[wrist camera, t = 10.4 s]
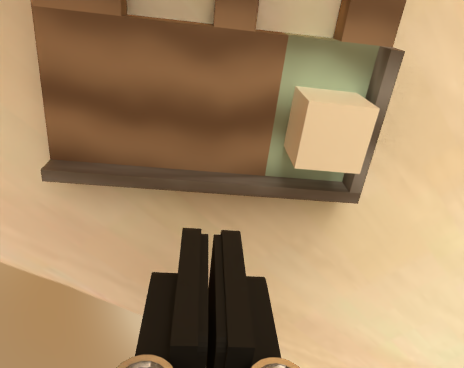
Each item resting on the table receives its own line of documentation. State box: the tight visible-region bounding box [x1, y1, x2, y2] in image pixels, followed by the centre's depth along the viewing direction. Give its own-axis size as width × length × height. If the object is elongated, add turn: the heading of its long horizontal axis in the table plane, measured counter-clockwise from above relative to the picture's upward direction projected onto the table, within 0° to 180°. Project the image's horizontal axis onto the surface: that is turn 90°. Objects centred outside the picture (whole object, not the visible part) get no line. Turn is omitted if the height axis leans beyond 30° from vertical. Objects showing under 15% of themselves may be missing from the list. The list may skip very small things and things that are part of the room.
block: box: [284, 86, 380, 174], centre depth 28 cm, size 5×5×4 cm
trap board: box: [31, 0, 406, 204], centre depth 28 cm, size 20×26×4 cm
